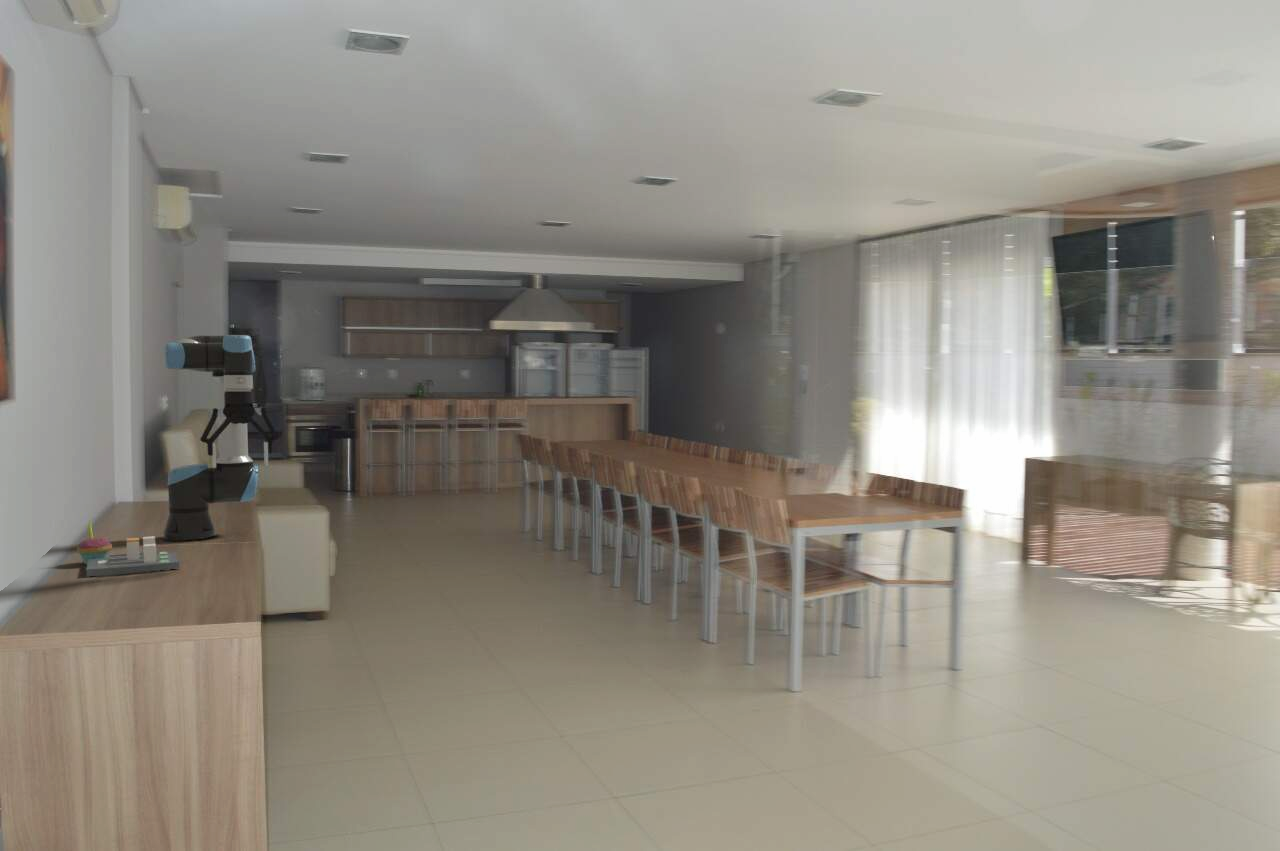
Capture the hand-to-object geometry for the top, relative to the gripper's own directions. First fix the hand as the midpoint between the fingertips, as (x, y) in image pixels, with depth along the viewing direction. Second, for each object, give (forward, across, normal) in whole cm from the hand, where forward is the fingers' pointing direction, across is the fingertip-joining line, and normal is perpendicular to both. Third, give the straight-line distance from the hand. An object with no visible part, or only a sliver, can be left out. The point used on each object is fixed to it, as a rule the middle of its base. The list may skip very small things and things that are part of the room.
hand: (240, 466), depth 276 cm
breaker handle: (+25, -27, +4) cm, 37 cm away
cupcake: (+27, -37, +16) cm, 49 cm away
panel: (+27, -27, +4) cm, 39 cm away
